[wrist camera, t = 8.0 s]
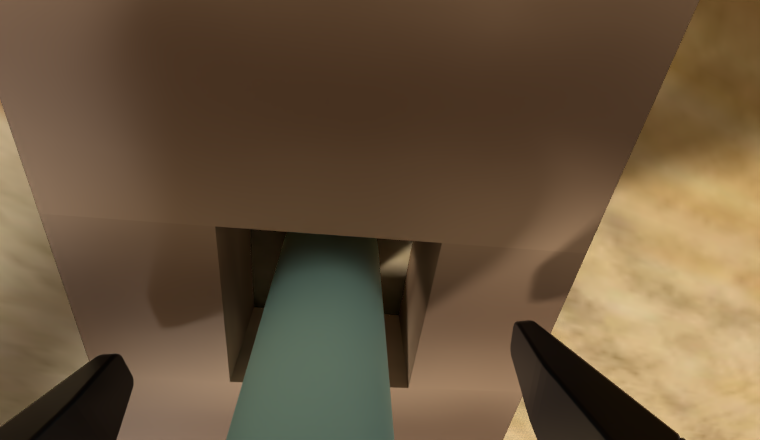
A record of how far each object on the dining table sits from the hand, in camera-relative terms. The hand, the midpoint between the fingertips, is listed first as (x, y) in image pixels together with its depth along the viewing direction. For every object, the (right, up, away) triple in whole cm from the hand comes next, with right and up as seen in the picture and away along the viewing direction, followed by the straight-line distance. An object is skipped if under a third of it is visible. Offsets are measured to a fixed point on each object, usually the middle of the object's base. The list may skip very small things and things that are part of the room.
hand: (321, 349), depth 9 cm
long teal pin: (0, +2, +3) cm, 4 cm away
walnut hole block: (0, +2, +3) cm, 4 cm away
